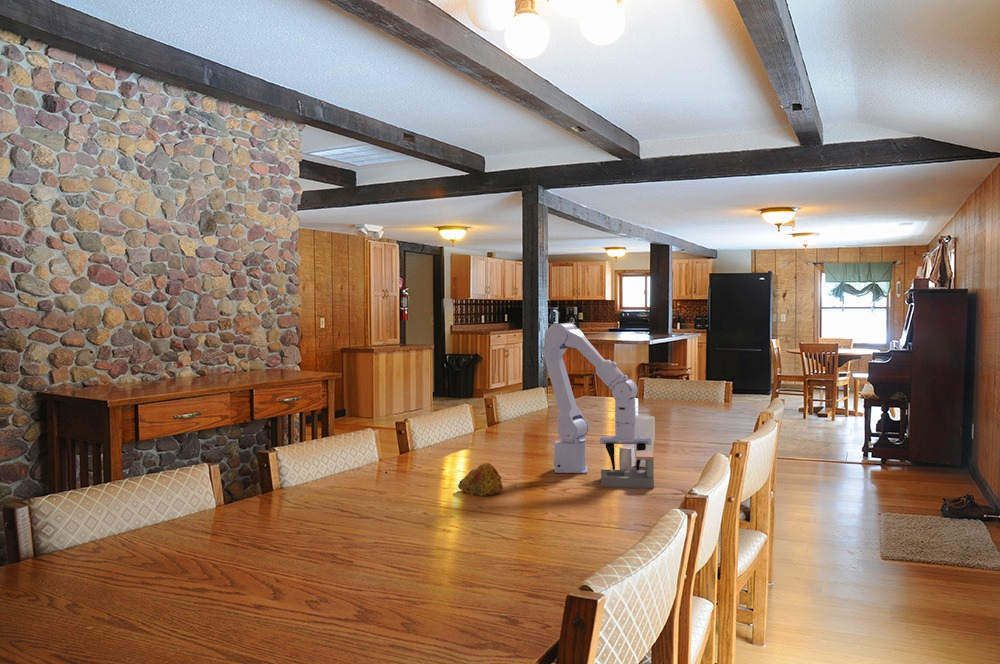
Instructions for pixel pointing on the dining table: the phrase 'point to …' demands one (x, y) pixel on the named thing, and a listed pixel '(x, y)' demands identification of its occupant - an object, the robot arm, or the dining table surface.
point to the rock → (482, 481)
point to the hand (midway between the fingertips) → (625, 469)
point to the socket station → (631, 474)
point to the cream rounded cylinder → (645, 433)
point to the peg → (625, 458)
